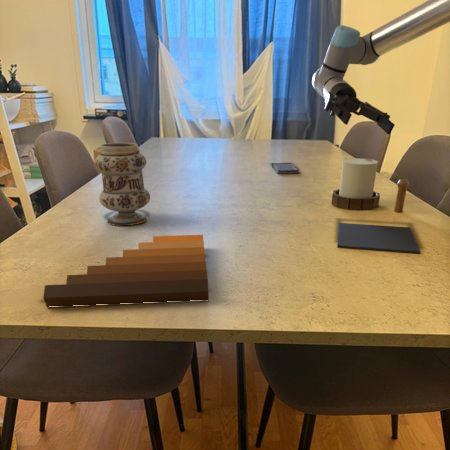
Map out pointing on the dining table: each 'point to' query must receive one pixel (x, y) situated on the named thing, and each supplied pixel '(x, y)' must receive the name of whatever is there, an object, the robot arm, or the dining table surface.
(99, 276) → the pan flute
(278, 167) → the phone
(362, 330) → the dining table surface
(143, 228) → the dining table surface
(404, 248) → the mat
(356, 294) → the dining table surface
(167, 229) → the dining table surface
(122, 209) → the apothecary jar
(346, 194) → the can
